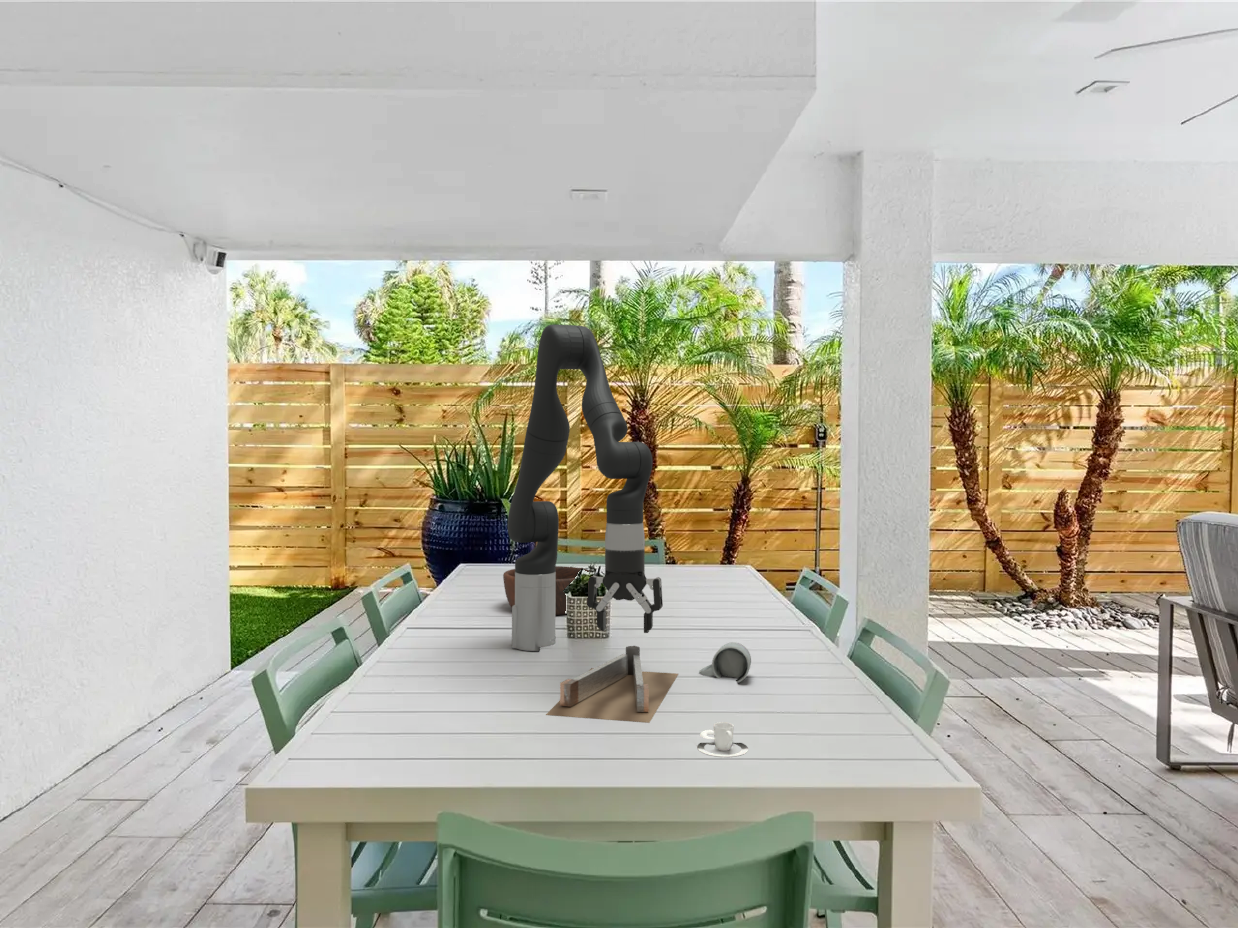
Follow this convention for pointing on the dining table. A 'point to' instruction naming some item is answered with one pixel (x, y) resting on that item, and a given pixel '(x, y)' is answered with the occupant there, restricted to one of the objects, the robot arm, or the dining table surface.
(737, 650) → the ceramic mug
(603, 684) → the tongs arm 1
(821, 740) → the dining table surface
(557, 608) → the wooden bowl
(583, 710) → the walnut board
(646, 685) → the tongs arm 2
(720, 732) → the teacup and saucer
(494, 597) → the dining table surface
